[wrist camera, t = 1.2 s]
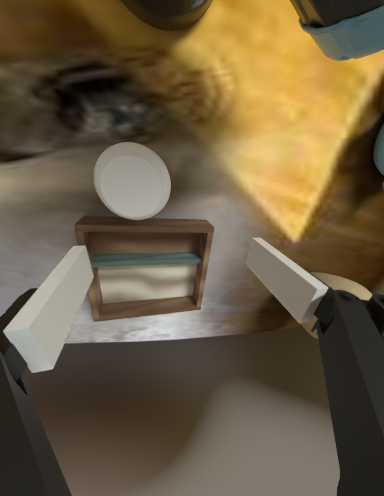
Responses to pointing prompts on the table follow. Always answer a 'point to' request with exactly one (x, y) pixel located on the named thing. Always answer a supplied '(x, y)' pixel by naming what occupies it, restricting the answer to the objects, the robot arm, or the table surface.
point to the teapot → (379, 152)
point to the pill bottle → (132, 181)
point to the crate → (145, 265)
